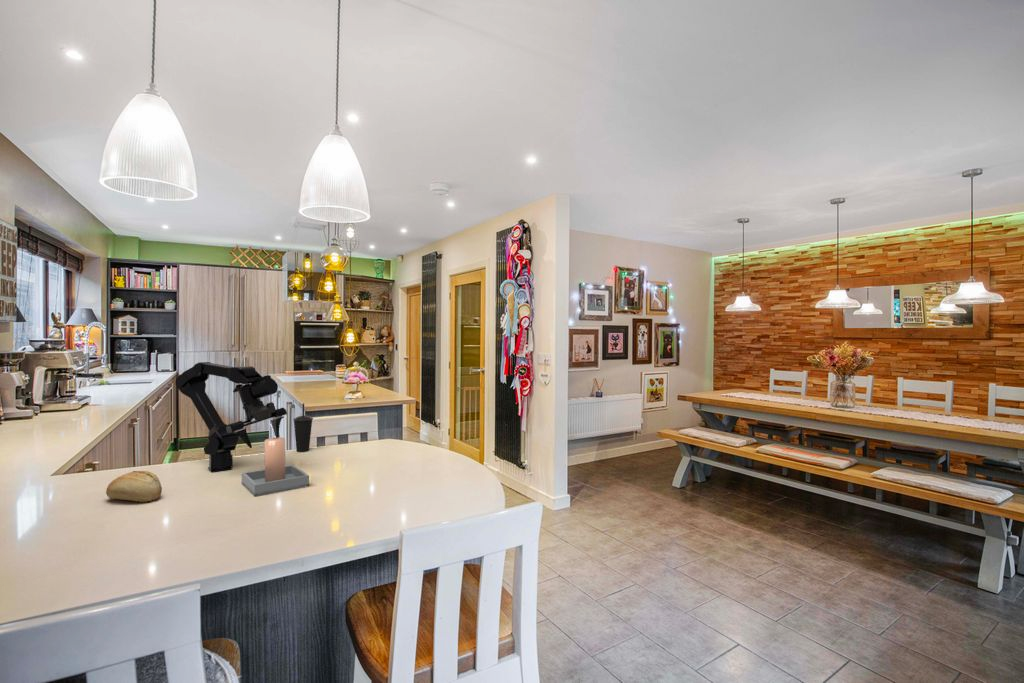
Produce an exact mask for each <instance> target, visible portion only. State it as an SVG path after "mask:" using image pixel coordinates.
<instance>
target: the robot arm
mask: <svg viewBox="0 0 1024 683" xmlns="http://www.w3.org/2000/svg"><path fill="white" fill-rule="evenodd" d="M210 375H211V376H217V377H222V378H226V379H228V380H229V381H230V382H232V383H235V384H236V385H235V387H234V389H233V390H232V392H233V393H238V395H239V397H240V402H241V404H242V410H244V413H245V416H246V417H245V419H246V420H244V421H243V420H239V421H236V422H232V423H230V424H229V423H228V424H226V423H225V422H224V421H223V419H222V418H221V416H220V414H219V413H218V411H217V410H216V408H215V406H214V404H213V403H212V401H211V399H210V398H209V395H208V394H207V392H206V388H207V384H206V381H207V380H208V379H210V378H209V377H210ZM271 376H272V375H263V376H262V375H261V374H260V372H258V371H257V370H256V368H255V367H254V366H252V365H250V366H230V365H225V364H218V363H214V362H213V363H212V362H210V361H202V362H196V363H195V364H194V365H193V366H192V367H190V368H188V369H187V370H184V371H183V372H181V374H179V375H178V376H177V378H176V380H175V386H176V388H177V389H178V390H179V392H180V393H181V394H183V395H184V396H186V397H188V398H189V399H190V400H191V401H192V403H193V406H194V407H195V408H196V410H197V411H198V414H199V415H200V417H201V419H202V420H203V422H204V424H205V426H206V428H208V436H207V437H208V438H207V439H208V440H209V442H208V443H207V444H206V445H205V447H203V452H204V454H205V455H209V460H208V462H209V463H208V465H209V466H207V469H208V470H209V472H210V473H215V472H221V471H222V472H223V471H228V470H232V469H233V466H234V465H233V460H234V459H233V458H234V456H233V454H232V451H235V450H236V447H237V444H238V441H239V438H240V439H241V440H242V441H243V442H244V443H245V445H246V446H247V447H248V448H249V449H253V445H252V442H251V440H250V436H248V433H247V432H248V431H247V428H245V427H247V426H251V425H253V424H256V423H259V422H263V421H266V420H269V419H271V420H270V423H271V426H272V429H273V433H274V436H275V438H280V428H281V427H280V425H281V421H282V419H284V418H285V415H288V412H287V409H286V408H285V407H281V408H277V409H276V405H275V403H274V402H273V401H270V402H267V403H266V404H264V402H263V401H262V399H261V398H265V397H268V396H271V395H274V394H276V393H277V392H278V389H279V386H278V383H277V382H276V381H275V379H273V378H272V377H271Z"/></svg>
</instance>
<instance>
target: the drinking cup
mask: <svg viewBox="0 0 1024 683" xmlns="http://www.w3.org/2000/svg"><path fill="white" fill-rule="evenodd" d="M301 412H302V413H301V414H302V415H299V416H297V417H294V418H293V419H292V420H293V422H294V423H293V426H294V436H295V449H296V450H295V451H296V452H297V453H305V452H309V451H310V445H311V444H310V443H311V436H312V425H313V420H314V418H313V417H311V416H309V415H305V403H303V402H302V411H301Z"/></svg>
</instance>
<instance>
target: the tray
mask: <svg viewBox="0 0 1024 683" xmlns="http://www.w3.org/2000/svg"><path fill="white" fill-rule="evenodd" d="M241 485H242V486H243V487H244V488H245V487H246V488H247V489H248V490H249V491H250V492H251V493H252V494H253V495H254V496H255V497H259V495H260V496H265V495H270V494H269V493H271V494H275V493H274V492H276V493H280V491H281V492H285V490H286V491H290V490H289V489H292V490H296V488H297V489H301V488H300V487H302V488H306V487H305V486H307V487H309V486H310V475H309V474H308V473H306V472H304V471H303V470H302V469H300V468H298V467H297V466H295V464H289V465H285V479H282V480H276V481H271V482H265V468H264V469H258V470H252V471H246V472H242V473H241ZM247 489H246V490H247ZM249 491H248V492H249ZM250 492H249V493H250ZM251 493H250V494H251ZM252 494H251V495H252ZM264 494H265V495H264ZM253 495H252V496H253ZM254 496H253V497H254Z"/></svg>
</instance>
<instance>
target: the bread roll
mask: <svg viewBox="0 0 1024 683" xmlns="http://www.w3.org/2000/svg"><path fill="white" fill-rule="evenodd" d="M162 490H163V488H162V484H161V481H160V479H159V477H158V476H157V475H156V474H155V473H153V472H151V471H148V470H147V471H146V470H134V471H131V472H127V473H125V474H122V475H121V476H118V477H116V478H115V479H113V480H112V481H111V482H110V483H109V484H108V485H107V487H106V492H105V494H106V496H107V498H109V499H113V500H125V501H132V502H138V501H139V502H140V503H142V502H143V503H145V502H146V503H148V502H147V501H150V502H153V501H152V500H154V501H156V500H157V499H158V498H160V496H161V494H162V492H163V491H162ZM155 499H156V500H155Z"/></svg>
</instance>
